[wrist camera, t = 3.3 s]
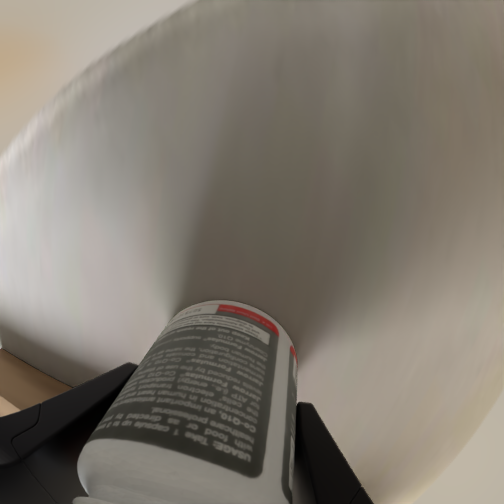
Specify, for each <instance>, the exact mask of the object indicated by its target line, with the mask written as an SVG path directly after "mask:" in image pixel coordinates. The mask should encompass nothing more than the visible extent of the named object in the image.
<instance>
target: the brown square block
mask: <svg viewBox="0 0 504 504" xmlns="http://www.w3.org/2000/svg"><path fill="white" fill-rule="evenodd" d="M70 389H72V387H70V386H68V385H66V384H64V383H62V382H60V381H58V380H56V379H54V378H52V377H50V376H48V375H46V374H44V373H43V372H41V371H39V370H37V369H35V368H34V367H32V366H30V365H28V364H27V363H25V362H23V361H21V360H20V359H18V358H16V357H15V356H13V355H12V354H10V353H8V352H7V351H5V350H4V349H2V348H1V349H0V417H2V416H6V415H9V414H12V413H15V412H18V411H21V410H23V409H26V408H28V407H31V406H33V405H36V404H38V403H42V402H43V401H45V400H47V399H50V398H52V397H54V396H57V395H59V394H61V393H63V392H66V391H68V390H70Z"/></svg>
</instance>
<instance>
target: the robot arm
mask: <svg viewBox="0 0 504 504" xmlns="http://www.w3.org/2000/svg"><path fill="white" fill-rule="evenodd" d="M138 366H139V365H136V364H133V363H126V364H124V365H122V366H120V367H117V368H115V369H113V370H111V371H109V372H107V373H105V374H103V375H100V376H98V377H96V378H94V379H92V380H90V381H88V382H85V383H83V384H81V385H79V386H77V387H74V388H72V389H70V390H68V391H66V392H63V393H61V394H59V395H57V396H54V397H52V398H50V399H47V400H45V401H43V402H42V403H38V404H36V405H33V406H31V407H28V408H26V409H23V410H21V411H18V412H15V413H12V414H9V415H6V416H2V417H0V504H73V500H74V499H75V498H76V497H89V495H88V494H87V492H86V491H85V489H84V488H83V486H82V484H81V482H80V479H79V476H78V470H77V463H78V459H79V456H80V454H81V452H82V450H83V447H84V446H85V444H86V442H87V441H88V439H89V438H90V436H91V435H92V433H93V432H94V430H95V429H96V428H97V426H98V425H99V423H100V422H101V420H102V419H103V417H104V416H105V414H106V413H107V411H108V410H109V408H110V407H111V405H112V404H113V402H114V401H115V399H116V398H117V397H118V395H119V394H120V392H121V391H122V389H123V388H124V386H125V385H126V383H127V382H128V380H129V379H130V378H131V376H132V375H133V373H134V372H135V370H136V369H137V367H138ZM292 504H374V503H373V502H372V500H371V499H370V497H369V496H368V494H367V493H366V491H365V490H364V488H363V487H361V483H360V482H359V480H358V478H357V477H356V475H355V474H354V472H353V470H352V469H351V467H350V466H349V464H348V462H347V461H346V459H345V457H344V456H343V454H342V453H341V451H340V449H339V448H338V446H337V444H336V443H335V441H334V439H333V438H332V436H331V434H330V433H329V431H328V429H327V428H326V426H325V424H324V423H323V421H322V419H321V418H320V416H319V414H318V413H317V411H316V409H315V408H314V406H313V405H312V404H311V403H306V402H298V404H297V406H296V431H295V457H294V474H293V496H292Z"/></svg>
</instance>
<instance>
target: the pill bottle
mask: <svg viewBox="0 0 504 504" xmlns="http://www.w3.org/2000/svg"><path fill="white" fill-rule="evenodd" d="M296 400H297V356H296V352H295V349H294V346H293V344H292V341H291V339H290V338H289V336H288V334H287V333H286V331H285V330H284V329H283V328H282V327H281V325H280V324H278V323H277V322H276V321H275V320H274V319H273V318H272V317H270V316H269V315H267V314H266V313H264V312H262V311H261V310H259V309H257V308H254V307H252V306H250V305H247V304H243V303H240V302H235V301H228V300H214V301H206V302H202V303H198V304H195V305H192V306H190V307H187V308H185V309H184V310H182V311H180V312H179V313H178V314H177V315H175V316H174V317H173V318H172V320H171V321H170V322H169V323H168V324H167V326H166V327H165V328H164V330H163V331H162V333H161V334H160V335H159V337H158V338H157V340H156V341H155V343H154V344H153V346H152V347H151V348H150V350H149V351H148V353H147V354H146V356H145V357H144V359H143V360H142V362H141V363H140V364H139V366H138V367H137V369H136V370H135V372H134V373H133V375H132V376H131V378H130V379H129V380H128V382H127V383H126V385H125V386H124V388H123V389H122V391H121V392H120V394H119V395H118V397H117V398H116V399H115V401H114V402H113V404H112V405H111V407H110V408H109V410H108V411H107V413H106V414H105V416H104V417H103V419H102V420H101V422H100V423H99V425H98V426H97V428H96V429H95V430H94V432H93V433H92V435H91V436H90V438H89V439H88V441H87V442H86V444H85V446H84V447H83V450H82V452H81V454H80V456H79V459H78V463H77V470H78V476H79V479H80V482H81V484H82V486H83V488H84V489H85V491H86V492H87V494H88V495H89V497H76V498H75V499H74V500H73V504H292V496H293V474H294V457H295V431H296Z"/></svg>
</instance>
